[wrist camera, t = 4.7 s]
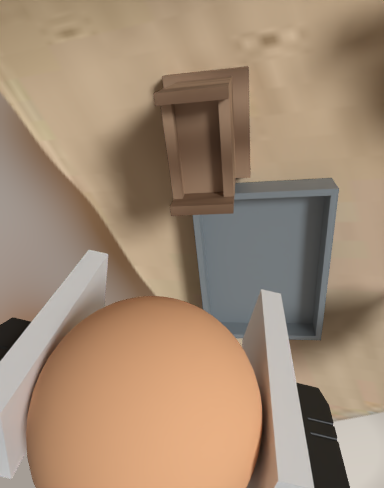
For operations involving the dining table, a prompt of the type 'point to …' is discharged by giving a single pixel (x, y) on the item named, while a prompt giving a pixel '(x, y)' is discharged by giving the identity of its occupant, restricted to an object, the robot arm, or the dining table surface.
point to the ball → (145, 402)
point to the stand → (206, 138)
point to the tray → (269, 253)
